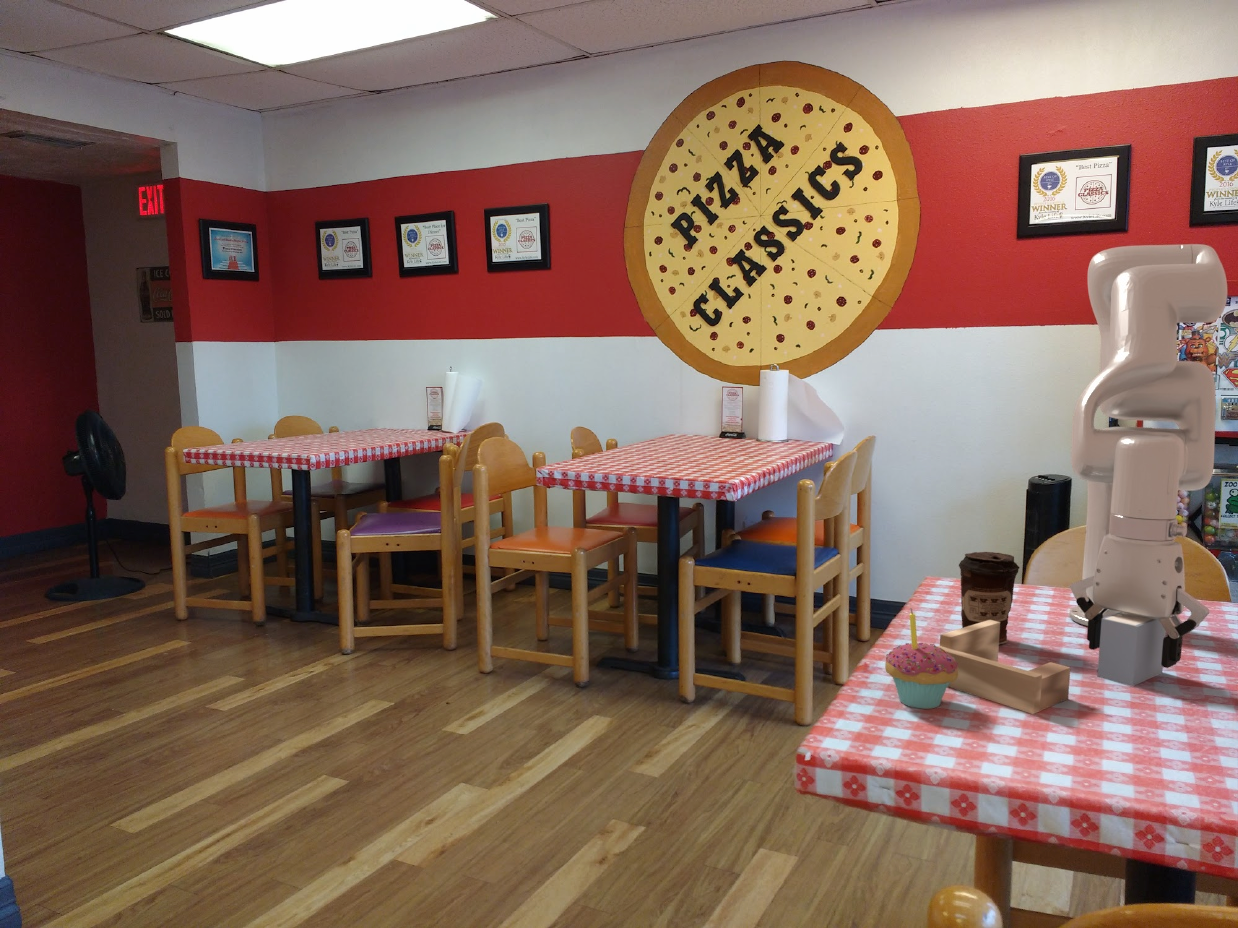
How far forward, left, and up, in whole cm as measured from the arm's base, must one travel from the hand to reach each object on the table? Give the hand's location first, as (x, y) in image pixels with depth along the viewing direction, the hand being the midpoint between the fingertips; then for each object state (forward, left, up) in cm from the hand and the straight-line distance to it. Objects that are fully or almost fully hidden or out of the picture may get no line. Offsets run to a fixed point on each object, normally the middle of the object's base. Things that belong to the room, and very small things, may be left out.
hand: (1131, 655), depth 123 cm
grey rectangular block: (0, 0, -3) cm, 3 cm away
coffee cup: (+2, -20, -3) cm, 20 cm away
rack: (+17, -8, -3) cm, 19 cm away
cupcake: (+32, -11, -3) cm, 34 cm away
